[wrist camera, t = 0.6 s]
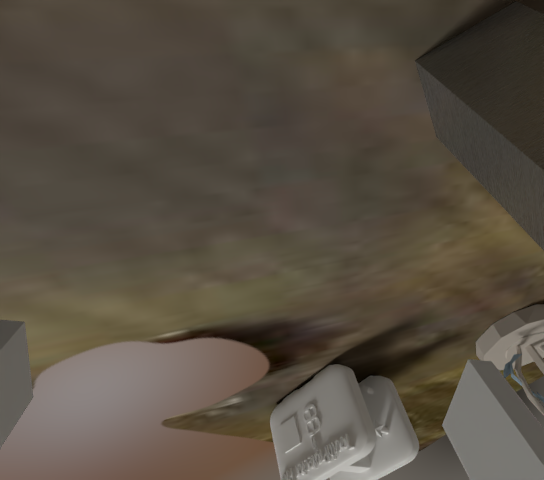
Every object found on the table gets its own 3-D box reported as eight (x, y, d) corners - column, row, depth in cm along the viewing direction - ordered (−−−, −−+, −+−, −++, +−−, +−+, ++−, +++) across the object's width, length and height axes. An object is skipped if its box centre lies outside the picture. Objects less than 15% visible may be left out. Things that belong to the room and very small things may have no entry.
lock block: (414, 60, 29) (564, 188, 18) (515, 1, 27) (741, 102, 17) (436, 136, 33) (565, 273, 23) (523, 89, 32) (703, 211, 21)
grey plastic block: (315, 417, 66) (338, 501, 57) (263, 407, 60) (280, 499, 51) (387, 368, 59) (425, 454, 51) (337, 351, 53) (370, 446, 45)
